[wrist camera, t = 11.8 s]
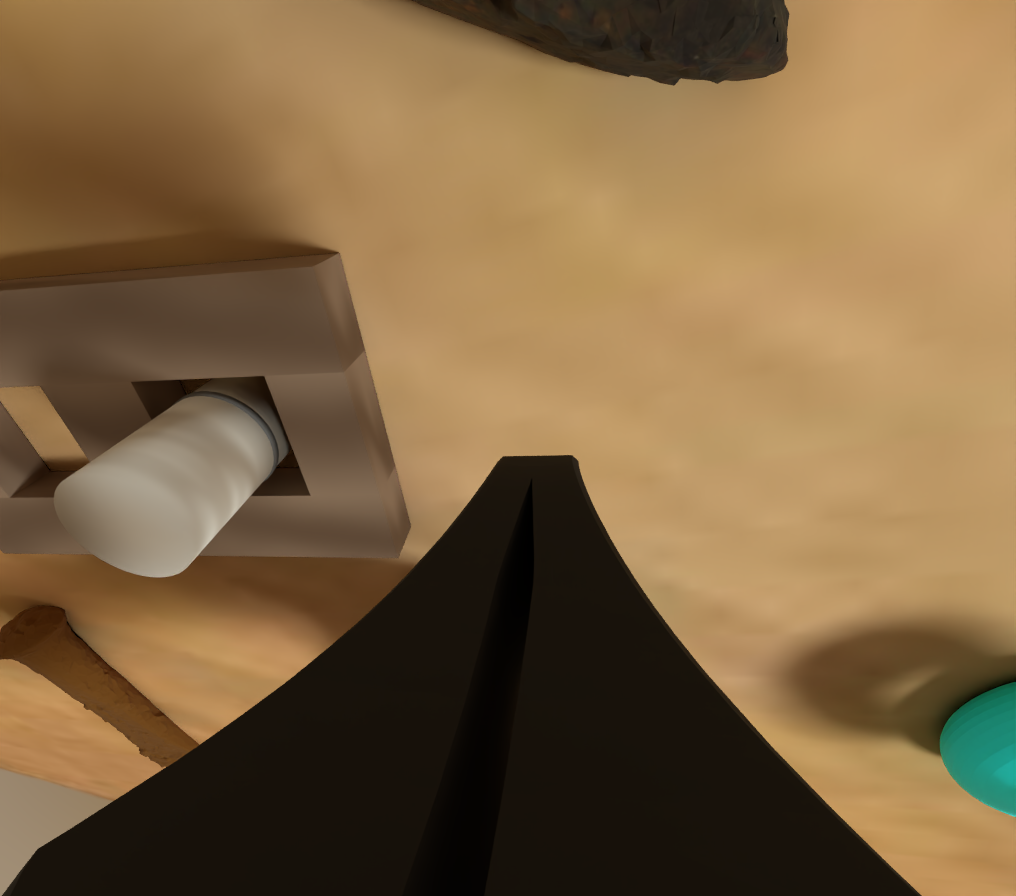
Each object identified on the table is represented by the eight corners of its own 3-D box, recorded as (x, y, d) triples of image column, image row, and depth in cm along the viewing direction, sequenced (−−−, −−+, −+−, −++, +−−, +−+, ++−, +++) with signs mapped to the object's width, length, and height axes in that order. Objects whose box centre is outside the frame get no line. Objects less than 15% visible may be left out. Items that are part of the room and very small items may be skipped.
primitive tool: (224, 759, 39) (195, 810, 36) (166, 756, 40) (134, 805, 37) (72, 596, 29) (16, 647, 26) (1, 598, 30) (-60, 648, 27)
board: (411, 526, 23) (398, 558, 21) (41, 525, 25) (3, 553, 24) (339, 252, 16) (312, 266, 15) (-144, 291, 19) (-213, 307, 17)
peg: (316, 454, 21) (217, 578, 15) (230, 457, 22) (103, 578, 16) (281, 364, 19) (150, 469, 13) (187, 371, 19) (21, 475, 14)
